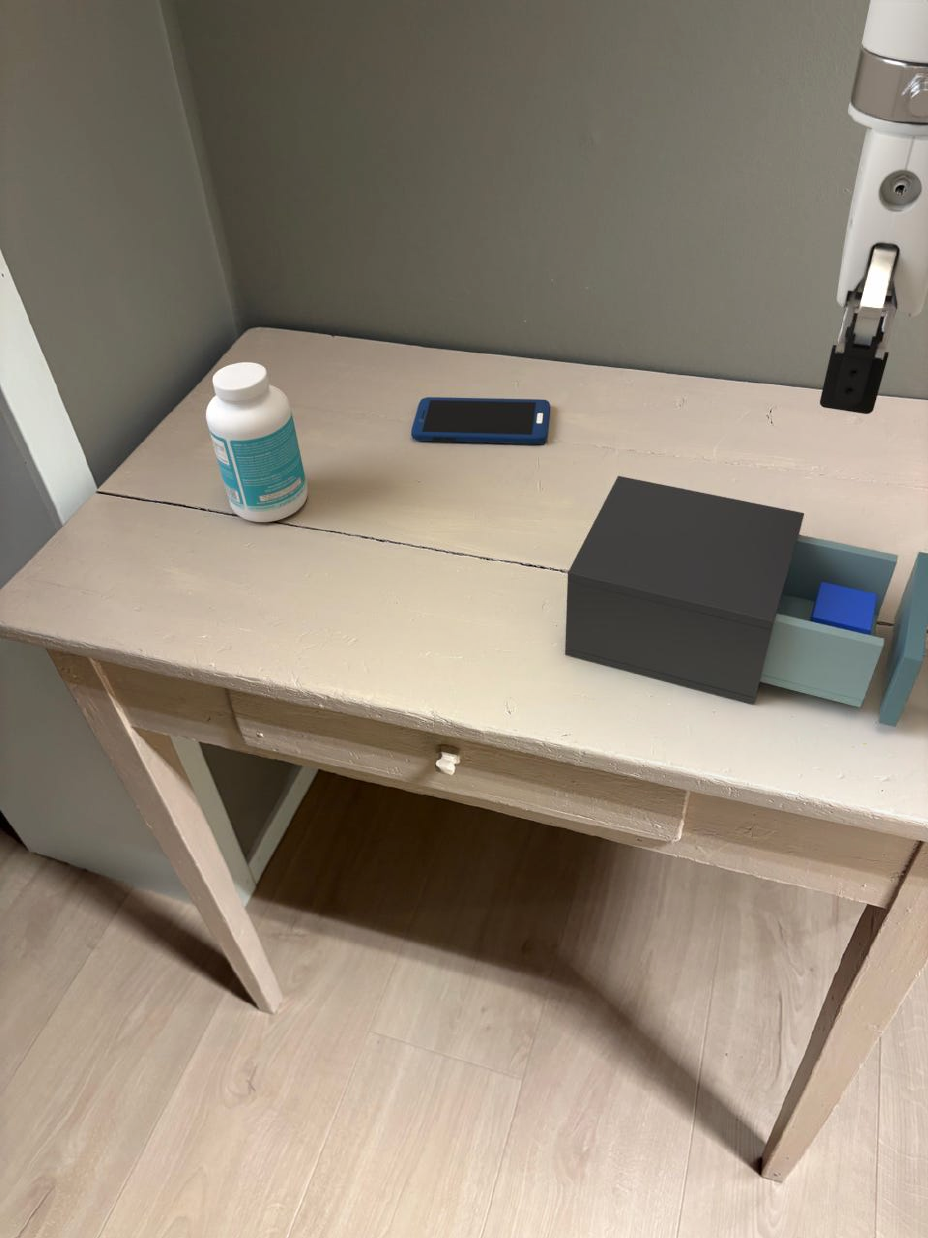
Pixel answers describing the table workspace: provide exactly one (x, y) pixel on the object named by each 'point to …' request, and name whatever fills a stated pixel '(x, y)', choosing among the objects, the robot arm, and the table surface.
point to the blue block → (844, 608)
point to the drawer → (841, 656)
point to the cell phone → (482, 420)
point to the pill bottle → (256, 444)
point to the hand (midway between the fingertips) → (854, 370)
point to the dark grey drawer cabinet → (680, 586)
